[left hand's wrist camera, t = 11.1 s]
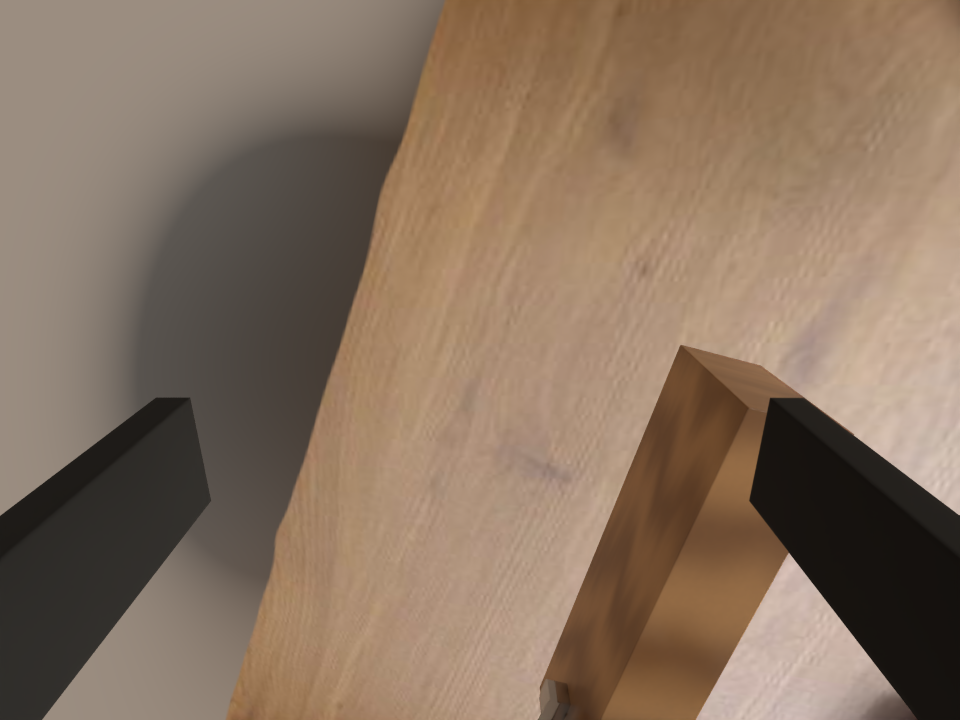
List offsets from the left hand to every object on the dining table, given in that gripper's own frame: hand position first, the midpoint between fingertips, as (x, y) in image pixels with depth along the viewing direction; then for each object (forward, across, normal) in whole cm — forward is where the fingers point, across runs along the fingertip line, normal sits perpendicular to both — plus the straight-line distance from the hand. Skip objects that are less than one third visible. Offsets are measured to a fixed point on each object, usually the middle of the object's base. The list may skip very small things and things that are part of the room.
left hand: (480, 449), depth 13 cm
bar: (+19, +10, -18) cm, 28 cm away
